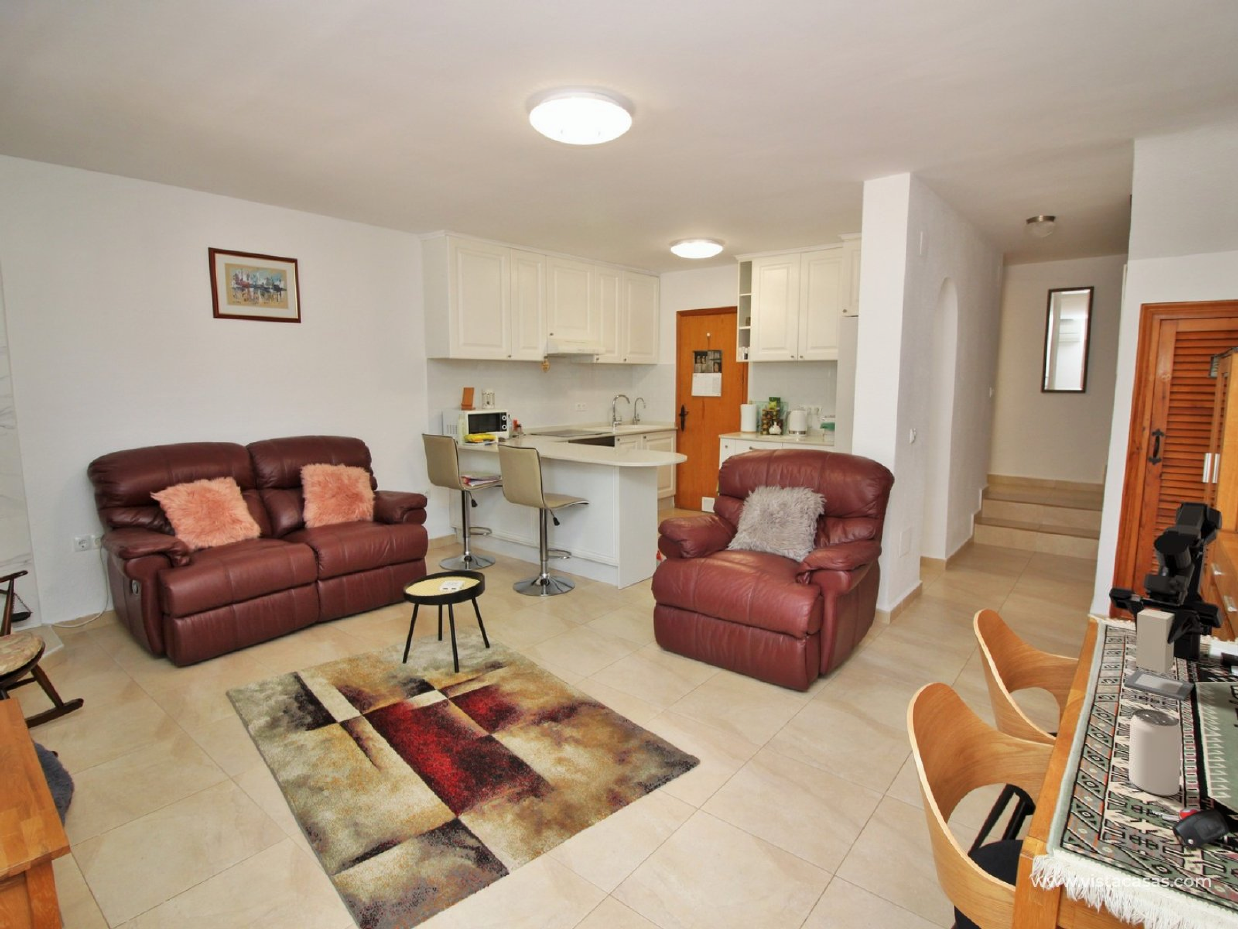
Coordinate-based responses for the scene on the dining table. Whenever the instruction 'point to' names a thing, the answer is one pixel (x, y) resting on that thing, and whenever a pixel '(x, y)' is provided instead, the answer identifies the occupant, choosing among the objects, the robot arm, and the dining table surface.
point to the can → (1155, 752)
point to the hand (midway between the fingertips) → (1152, 639)
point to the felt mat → (1159, 685)
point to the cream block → (1154, 640)
